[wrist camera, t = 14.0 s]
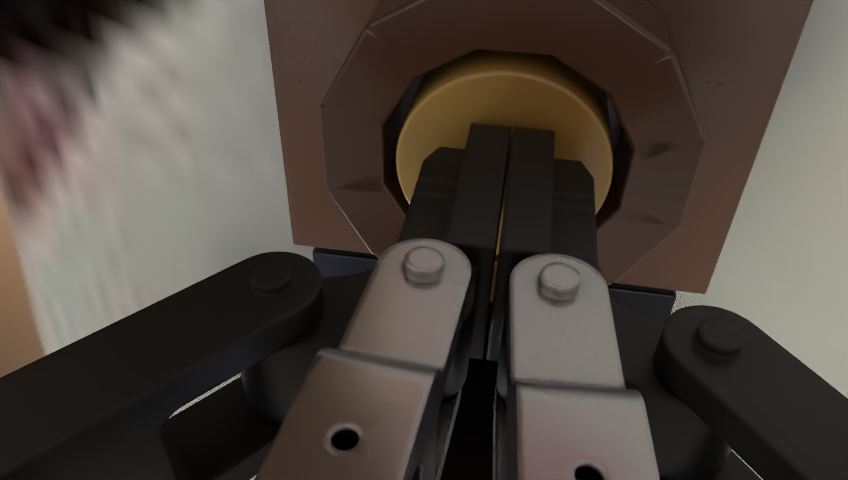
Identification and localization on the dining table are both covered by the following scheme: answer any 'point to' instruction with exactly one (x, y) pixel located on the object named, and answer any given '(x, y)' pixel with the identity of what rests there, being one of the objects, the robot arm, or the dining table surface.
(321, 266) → the lever bracket
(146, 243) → the dining table surface
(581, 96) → the button
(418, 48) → the switch plate
